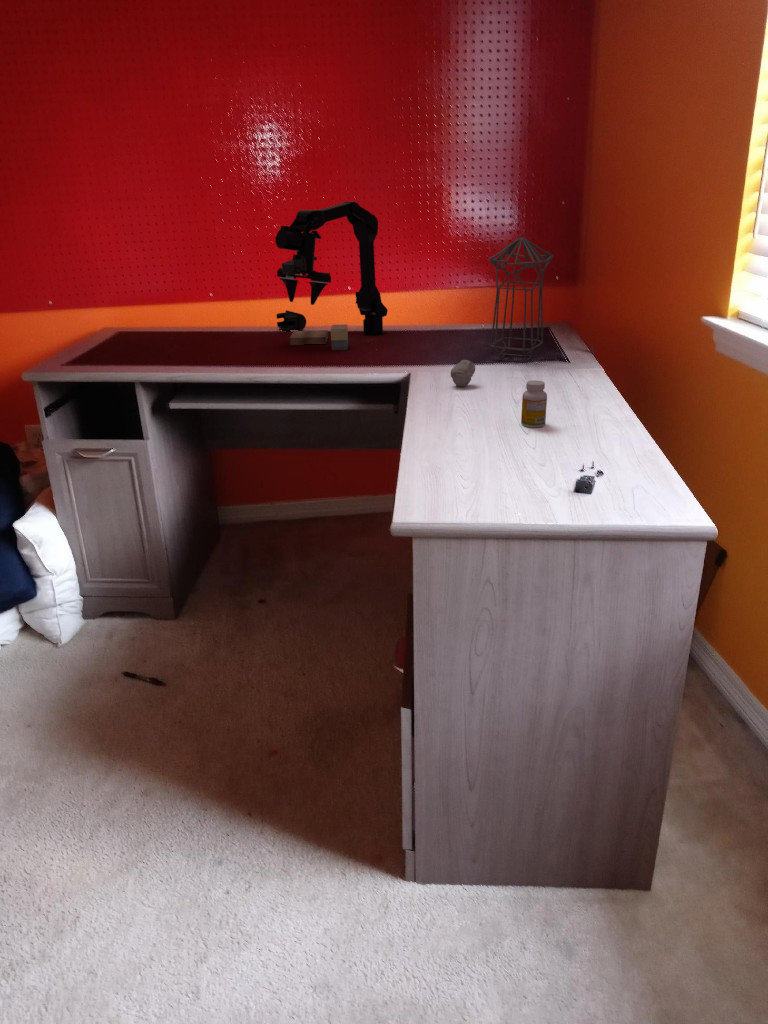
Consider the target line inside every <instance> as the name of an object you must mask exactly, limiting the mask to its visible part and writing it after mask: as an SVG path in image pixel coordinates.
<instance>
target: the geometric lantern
mask: <svg viewBox="0 0 768 1024" xmlns="http://www.w3.org/2000/svg"><path fill="white" fill-rule="evenodd" d="M522 244H523V248H524V249H523V250H524V254H525V255H523V254H520V251H521V248H522ZM537 249H538V250H539V251H541V252H543V253H544V254H541V253H539V252H538V250H537ZM516 251H517V253H515V252H516ZM507 255H509V256H508V257H507V259H506V258H505V257H506V256H507ZM511 257H512V258H513V259H514V260H515V261H514V263H512V262H511V263H510V262H509V260H510V259H511ZM520 257H521V258H525V260H524V262H523V261H521V260H520ZM528 258H530V259H531V261H527V260H528ZM553 258H554V255H553V254H552V253H550V252H548V251H546V250H544V249H543V248H541V247H540V246H538V245H536V244H535V243H533V242H532V241H529V240H528V239H526V237H517V239H515V240H514V241H513V242H511V243H509V245H506V247H504V248H503V249H501V250H499V252H496V254H494V255H492V256H491V257H489V258H488V259H487V261H488V262H490V263H491V264H492V265H493V266H494V267H495V268H494V269H495V288H496V294H495V300H494V301H495V304H494V312H493V319H492V328H491V337H490V345H489V346H490V347H491V348H492V349H493V350H494V351H495V352H497V353H498V355H499V357H498V360H499V361H502V362H503V361H504V362H511V363H512V362H513V363H514V362H515V363H527V362H528V361H529V360H531V358H533V351H534V350H535V349H537V348H538V347H540V346H541V345H543V344H544V310H543V308H544V306H543V305H544V302H543V301H544V299H543V298H544V297H543V293H544V292H543V290H544V289H543V281H544V277H545V276H544V275H545V272H546V269H547V267H548V266H549V264H550V262H551V261H552V259H553ZM505 259H506V260H505ZM536 260H537V261H536ZM543 263H544V266H543ZM519 265H522V266H521V268H519V269H518V270H516V266H519ZM507 266H513V271H507ZM537 266H538V269H539V273H538V270H537ZM527 268H531V269H534V270H535V272H536V275H537V278H536V280H535V282H531V281H522V279H521V277H520V276H519V275H520V273H521V272H522V271H524V270H526V269H527ZM498 270H501V271H502V272H504V274H505V275H506V276H505V277H504V279H503V281H502V282H501V283H500V284H499V283H498V282H499V281H498V280H499V279H498V278H499V277H498V276H499V275H498ZM509 275H515V277H514V279H513V280H511V278H510V277H509ZM540 276H541V277H540ZM506 279H508V281H506ZM517 279H518V281H517ZM538 280H539V282H538ZM505 284H506V287H502V286H503V285H505ZM510 284H513V285H512V287H510ZM516 284H521V286H522V288H516ZM525 284H528V285H529V284H531V285H532V284H533V286H532V287H531V288H526V285H525ZM536 285H537V286H536ZM501 289H502V290H506V294H505V303H504V312H503V313H504V314H503V324H502V332H501V338H500V339H498V329H499V327H498V326H499V308H500V292H501ZM535 289H538V305H537V307H538V309H537V327H536V328H537V330H536V339H535V338H534V330H533V329H534V327H533V326H534V312H533V311H534V310H533V309H534V290H535ZM510 290H512V298H511V308H510V309H511V310H510V311H511V313H510V323H509V324H510V326H509V337H506V336H505V327H506V318H507V317H506V316H507V307H508V299H509V291H510ZM515 291H524V304H523V308H524V309H523V332H522V333H523V336H522V337H523V338H522V337H512V333H513V332H512V331H513V316H514V302H515ZM528 291H529V292H530V338H526V327H527V326H526V324H527V323H526V321H527V319H526V318H527V292H528ZM540 321H541V322H540ZM540 324H541V325H540ZM540 327H541V328H540ZM540 329H541V331H540ZM494 332H495V334H494ZM540 333H541V334H540ZM504 336H505V337H504ZM540 337H541V338H540ZM539 338H540V339H541V340H540V339H539ZM493 340H494V342H493ZM505 340H508V347H507V345H506V343H505ZM511 340H517V341H522V348H521V347H510V346H511ZM501 341H502V343H503V345H504V346H499V345H497V344H498V343H499V342H501ZM526 341H530V348H526ZM537 342H538V344H537ZM500 349H502V351H500ZM510 351H517V352H518V351H519V352H522V354H516V353H514V354H513V353H510ZM525 352H527V353H526V354H525ZM506 356H511V357H512V356H513V357H522V360H514V359H513V360H512V359H504V357H506Z"/></svg>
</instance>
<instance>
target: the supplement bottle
mask: <svg viewBox="0 0 768 1024" xmlns="http://www.w3.org/2000/svg"><path fill="white" fill-rule="evenodd" d="M545 383H546V382H545V381H543V380H538V379H537V380H535V379H534V380H528V381H526V383H525V384H526V385H525V388H526V390H525V391H523V393H522V397H521V398H522V399H521V401H522V403H521V419H520V420H521V421H520V422H521V423H520V424H521V425H522V426H523V427H525V428H528V429H529V428H530V429H531V428H532V429H538V428H543V427H544V426H545V425H546V420H547V405H548V394H547V392H546V391H544V390H545V387H546V386H545V385H546V384H545Z"/></svg>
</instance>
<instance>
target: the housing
mask: <svg viewBox="0 0 768 1024" xmlns="http://www.w3.org/2000/svg"><path fill="white" fill-rule="evenodd" d="M330 338H331V339H330V341H331V351H332V350H347V349H348V348H349V333H348V324H331V328H330ZM347 351H348V350H347Z"/></svg>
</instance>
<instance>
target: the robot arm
mask: <svg viewBox="0 0 768 1024" xmlns="http://www.w3.org/2000/svg"><path fill="white" fill-rule="evenodd" d="M341 218H346V220H347V221H348V223H349V224H350V225H352V229H353V234H354V236H355V238H356V240H357V241H358V247H359V251H358V252H359V267H360V268H359V270H360V288H359V290H358V291H355V304H356V305H357V308H358V310H359V314H360V316H364V319H363V320H362V324H363V333H364V335H370V336H371V335H384V326H383V324H384V322H383V318H385V317H386V316H388V311H389V310H388V308H387V307H386V306H385V304H383V302H382V297H381V293H380V290H379V289H378V287H377V284H376V269H375V267H376V265H375V245H374V244H375V243H374V242H375V240H376V238H377V235H378V232H379V231H378V230H379V220H378V218H377V217H376V216H375V214H372V213H371V212H370V211H369V210H367V209H366V208H364V207H362V206H361V205H360V204H359V203H358V202H356V201H352V200H351V201H344V202H342V203H339V204H335V205H331V206H327V207H324V208H320V209H300V210H298V211H297V213H296V215H295V218H294V219H293V221H292V223H290V225H289V226H288V225H280V229H279V230H278V231H277V233H276V236H275V237H274V239H275V245H276V247H277V248H278V249H280V250H285V251H286V250H287V251H296V254H295V253H294V254H293V255H292V259H291V260H287V261H284V262H282V263H281V267H279V268H278V269H277V271H276V277H278V278H279V280H280V281H282V282H283V283H284V286H285V289H286V292H287V296H288V301H289V302H290V303H293V302H294V299H295V295H296V291H297V287H298V283H299V280H298V279H297V278H299V279H301V278H302V279H309V280H311V281H309V282H308V283H309V285H310V288H311V289H310V305H313V306H314V305H315V304H316V302H317V300H318V298H319V297H320V295H321V292H322V291H323V290H324V289H325V287H326V286H329V285H328V283H330V284H331V283H332V276H331V273H328V272H321V271H320V272H319V271H316V270H315V269H314V268H315V267H314V265H315V261H317V260H318V256H315V252H316V239H317V240H322V236H321V234H319V232H318V229H320V228H322V227H324V225H325V224H326V223H328V222H331V221H334V220H338V219H341Z"/></svg>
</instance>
